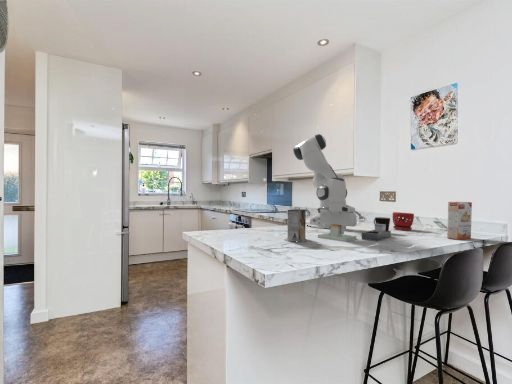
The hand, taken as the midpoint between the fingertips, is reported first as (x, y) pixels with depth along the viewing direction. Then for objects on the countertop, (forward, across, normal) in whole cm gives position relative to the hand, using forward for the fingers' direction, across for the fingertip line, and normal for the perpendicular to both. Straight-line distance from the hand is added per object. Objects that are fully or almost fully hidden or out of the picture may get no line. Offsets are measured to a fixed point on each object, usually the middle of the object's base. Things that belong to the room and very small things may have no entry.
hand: (337, 233), depth 147 cm
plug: (+2, 0, 0) cm, 2 cm away
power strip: (+3, +14, +18) cm, 23 cm away
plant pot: (+3, +11, +73) cm, 74 cm away
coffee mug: (+3, +8, +42) cm, 43 cm away
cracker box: (+3, +45, +57) cm, 73 cm away
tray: (+3, 0, 0) cm, 3 cm away
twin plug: (+2, +14, +23) cm, 27 cm away
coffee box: (+3, -12, -20) cm, 24 cm away
